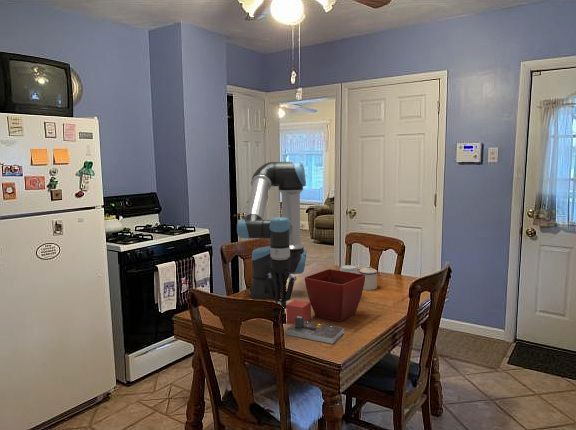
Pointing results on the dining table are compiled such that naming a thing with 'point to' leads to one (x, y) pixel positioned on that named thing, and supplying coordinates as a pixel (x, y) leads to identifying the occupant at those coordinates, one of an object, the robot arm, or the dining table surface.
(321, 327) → the breaker panel
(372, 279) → the teacup with lid
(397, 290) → the dining table surface
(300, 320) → the breaker toggle
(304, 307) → the red cube
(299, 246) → the robot arm
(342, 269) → the supplement can
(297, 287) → the dining table surface
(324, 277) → the plant pot
